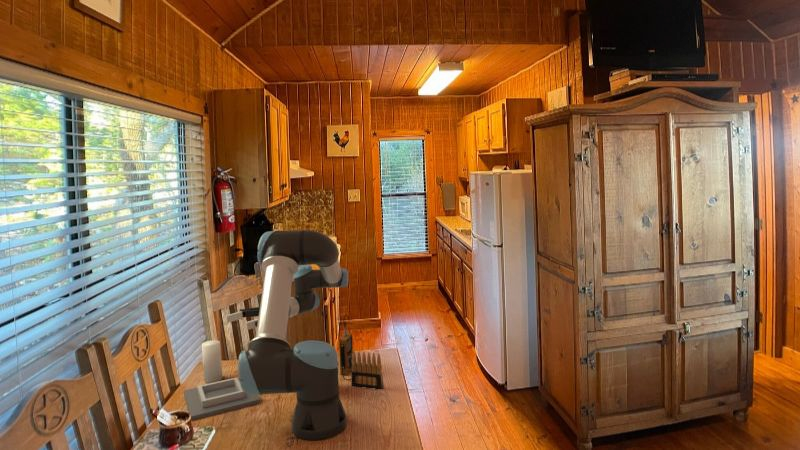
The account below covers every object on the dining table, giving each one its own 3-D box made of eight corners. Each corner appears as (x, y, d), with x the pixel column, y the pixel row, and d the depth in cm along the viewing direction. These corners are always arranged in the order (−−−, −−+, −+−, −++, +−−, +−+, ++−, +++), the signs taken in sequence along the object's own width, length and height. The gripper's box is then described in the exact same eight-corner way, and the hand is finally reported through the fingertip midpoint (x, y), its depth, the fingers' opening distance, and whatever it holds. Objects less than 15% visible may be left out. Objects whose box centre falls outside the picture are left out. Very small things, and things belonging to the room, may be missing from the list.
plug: (223, 380, 164) (221, 344, 163) (205, 384, 161) (202, 347, 160) (221, 374, 169) (218, 339, 168) (203, 378, 166) (200, 342, 165)
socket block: (260, 402, 147) (259, 392, 146) (190, 420, 137) (189, 410, 137) (246, 379, 164) (246, 370, 164) (184, 393, 154) (183, 384, 154)
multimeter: (364, 381, 160) (362, 324, 158) (336, 379, 162) (334, 323, 160) (375, 364, 174) (373, 311, 172) (349, 363, 176) (347, 310, 174)
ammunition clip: (383, 387, 155) (382, 352, 154) (381, 390, 153) (380, 354, 152) (353, 383, 158) (352, 349, 157) (351, 386, 156) (350, 351, 155)
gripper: (304, 323, 179) (255, 339, 163) (267, 312, 196) (219, 326, 180) (303, 304, 179) (254, 318, 163) (266, 294, 195) (217, 306, 179)
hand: (235, 322), depth 171 cm, fingers open, 13 cm apart
